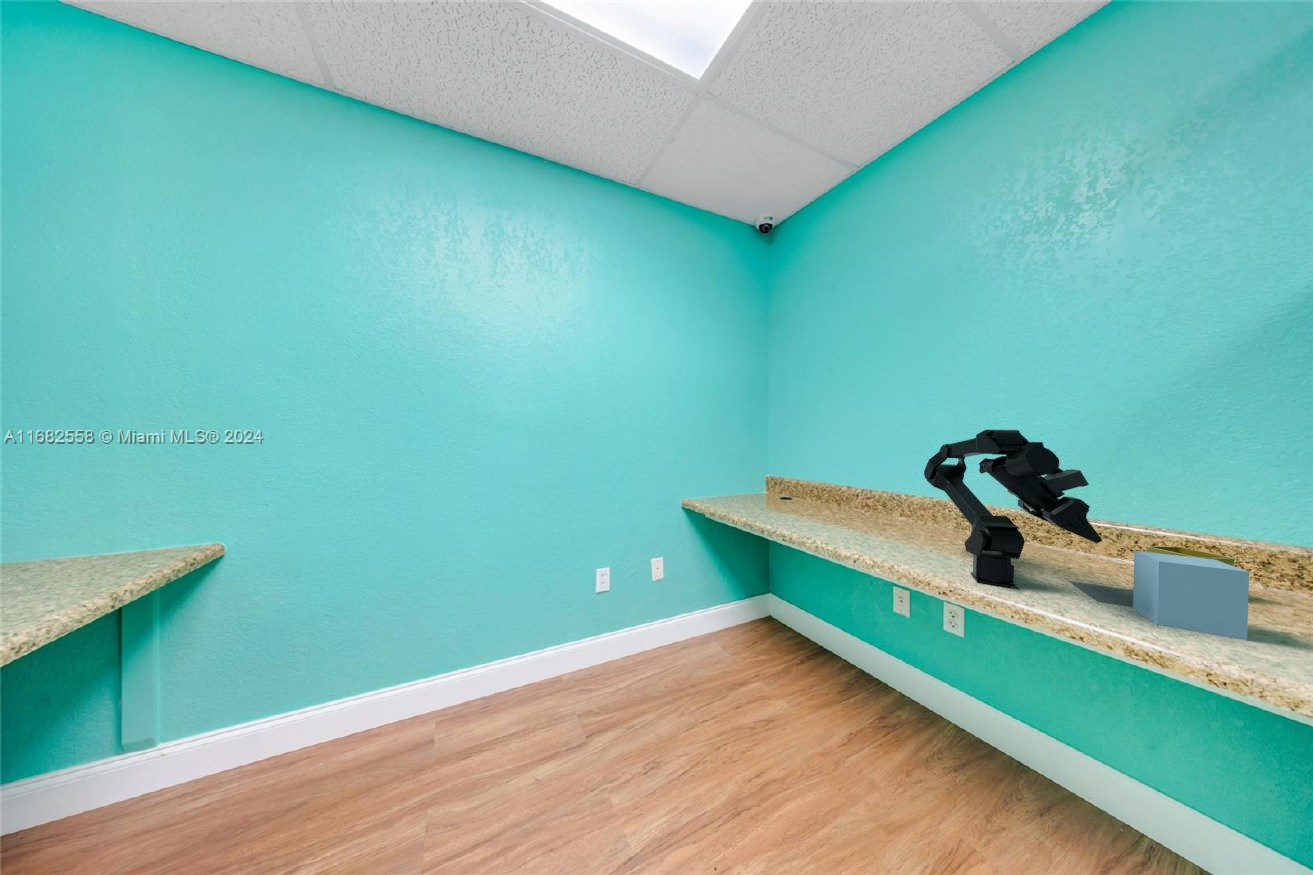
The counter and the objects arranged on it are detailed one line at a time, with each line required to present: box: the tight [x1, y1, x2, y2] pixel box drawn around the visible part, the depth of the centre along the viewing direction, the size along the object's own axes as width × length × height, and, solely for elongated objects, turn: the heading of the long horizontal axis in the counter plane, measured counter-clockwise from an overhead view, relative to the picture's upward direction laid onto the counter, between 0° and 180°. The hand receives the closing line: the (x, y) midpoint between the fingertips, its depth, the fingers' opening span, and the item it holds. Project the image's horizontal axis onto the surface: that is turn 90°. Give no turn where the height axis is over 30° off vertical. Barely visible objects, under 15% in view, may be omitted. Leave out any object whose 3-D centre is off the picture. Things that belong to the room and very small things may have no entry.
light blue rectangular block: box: [1132, 550, 1250, 641], centre depth 70 cm, size 10×7×12 cm
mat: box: [1067, 580, 1134, 608], centre depth 80 cm, size 16×13×1 cm
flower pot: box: [1145, 545, 1236, 566], centre depth 86 cm, size 9×9×9 cm
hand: (1087, 536), depth 80 cm, fingers open, 9 cm apart
